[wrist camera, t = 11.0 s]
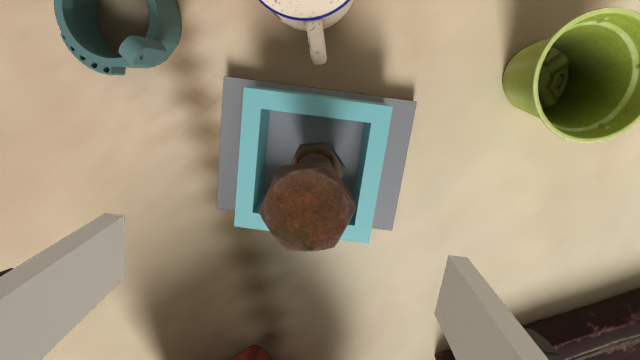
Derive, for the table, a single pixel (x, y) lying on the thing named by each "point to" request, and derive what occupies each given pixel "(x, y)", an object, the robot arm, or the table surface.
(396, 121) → the socket
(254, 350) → the plant pot
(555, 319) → the diary
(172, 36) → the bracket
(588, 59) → the plant pot
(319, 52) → the teacup with lid
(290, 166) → the bolt
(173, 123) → the table surface
